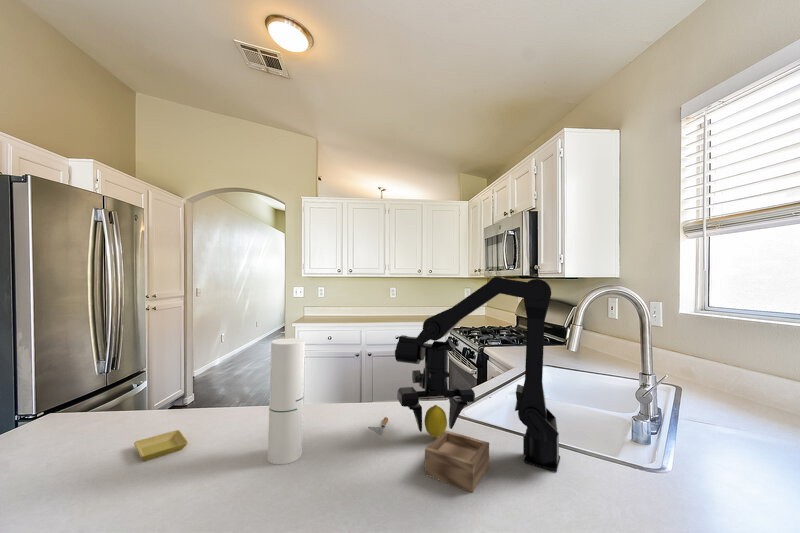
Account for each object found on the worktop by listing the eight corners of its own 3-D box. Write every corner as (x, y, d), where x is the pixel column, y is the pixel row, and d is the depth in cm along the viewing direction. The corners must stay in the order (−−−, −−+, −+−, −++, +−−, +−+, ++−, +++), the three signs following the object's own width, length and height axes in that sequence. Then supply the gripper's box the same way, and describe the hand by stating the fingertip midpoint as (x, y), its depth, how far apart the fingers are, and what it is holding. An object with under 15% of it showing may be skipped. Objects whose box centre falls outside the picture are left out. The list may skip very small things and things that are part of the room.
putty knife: (358, 445, 79) (379, 447, 78) (358, 440, 79) (379, 441, 78) (371, 419, 92) (389, 420, 91) (371, 415, 92) (389, 416, 91)
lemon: (448, 443, 78) (448, 409, 78) (424, 443, 78) (425, 409, 78) (445, 433, 84) (445, 401, 84) (423, 432, 84) (424, 400, 84)
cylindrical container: (308, 451, 74) (311, 340, 75) (285, 467, 67) (288, 345, 68) (284, 444, 77) (287, 337, 78) (260, 459, 70) (264, 342, 71)
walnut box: (489, 466, 69) (489, 442, 69) (472, 492, 60) (472, 464, 60) (445, 452, 74) (445, 430, 74) (424, 474, 65) (425, 449, 66)
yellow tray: (188, 451, 74) (188, 442, 74) (139, 466, 67) (140, 456, 67) (178, 438, 80) (178, 429, 80) (133, 451, 73) (133, 441, 73)
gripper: (458, 357, 91) (458, 413, 91) (393, 359, 87) (392, 419, 87) (476, 367, 81) (475, 432, 80) (402, 371, 77) (401, 439, 76)
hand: (435, 429), depth 81 cm, fingers open, 8 cm apart
